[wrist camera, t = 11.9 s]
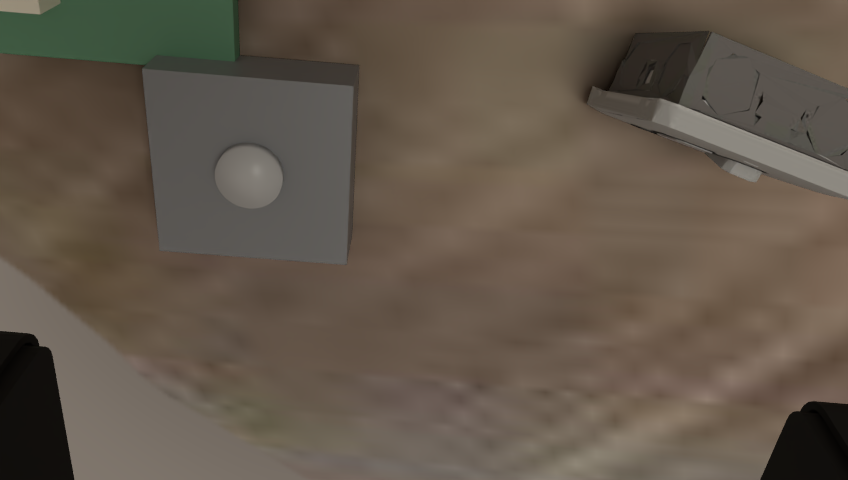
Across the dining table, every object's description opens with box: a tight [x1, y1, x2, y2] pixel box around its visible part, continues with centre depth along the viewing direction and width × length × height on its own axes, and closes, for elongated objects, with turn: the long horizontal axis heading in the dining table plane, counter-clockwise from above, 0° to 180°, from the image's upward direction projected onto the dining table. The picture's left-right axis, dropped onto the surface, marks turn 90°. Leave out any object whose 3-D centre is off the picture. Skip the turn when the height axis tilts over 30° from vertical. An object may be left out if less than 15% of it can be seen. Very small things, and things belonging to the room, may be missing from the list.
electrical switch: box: [587, 31, 848, 199], centre depth 33 cm, size 9×5×9 cm, turn 69°
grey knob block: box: [142, 55, 359, 265], centre depth 37 cm, size 9×9×4 cm
